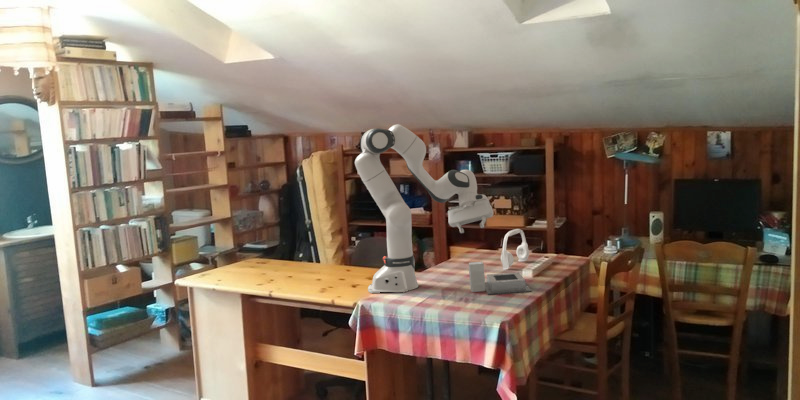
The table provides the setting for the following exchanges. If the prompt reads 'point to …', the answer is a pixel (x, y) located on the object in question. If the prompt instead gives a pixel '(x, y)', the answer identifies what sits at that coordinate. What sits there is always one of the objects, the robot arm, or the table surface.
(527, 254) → the headset
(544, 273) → the table surface
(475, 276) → the skincare box
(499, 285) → the grey square stand
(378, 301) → the table surface
